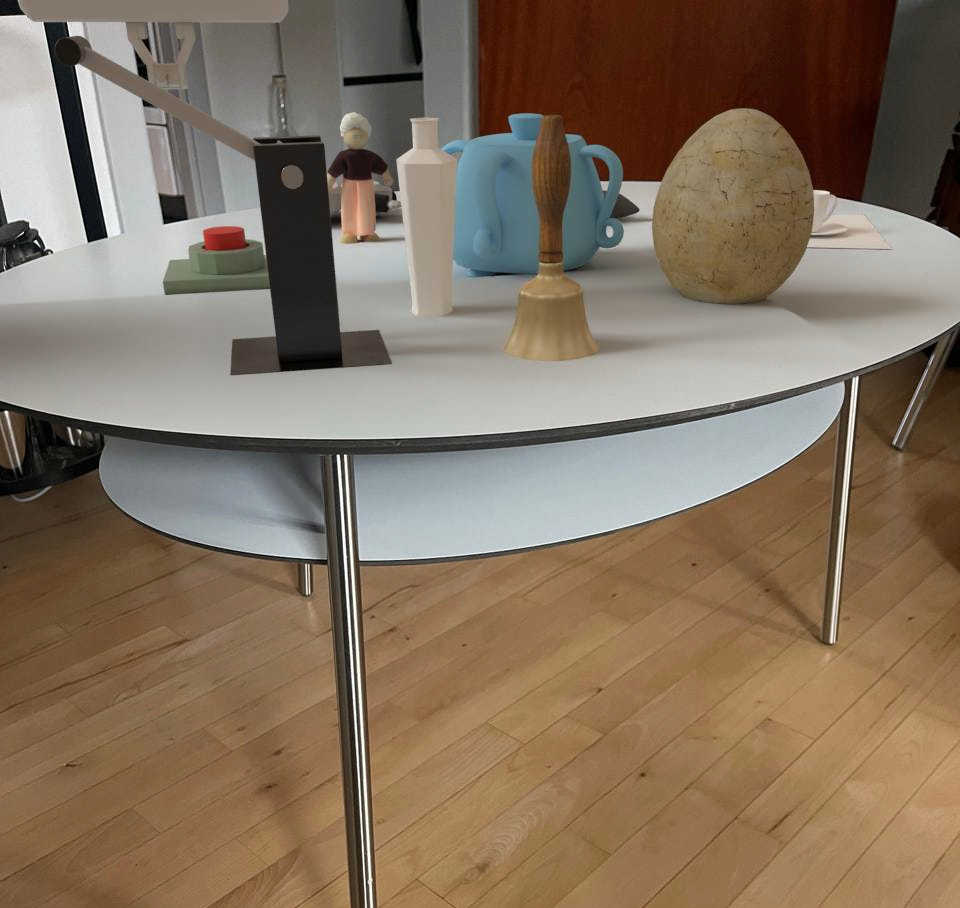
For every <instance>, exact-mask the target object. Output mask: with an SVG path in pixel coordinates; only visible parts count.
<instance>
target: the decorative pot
mask: <svg viewBox="0 0 960 908" xmlns="http://www.w3.org/2000/svg"><path fill="white" fill-rule="evenodd" d="M542 116H544V115H543V114H541V113H530V112H529V113H526V112H525V113H514V114H511V115H509V116H508V123H509V125H510V130H511V132H506V133H505V132H504V133H495V134H488V135H483V136H479V137H475V138H472V139H470V140H465V139H456V140H453V141H451V142H448V143H446V144H445V145H444V146H442V148H440V149H441V150H443V151H445V152H446V153H448V154H450V155H451V156H452V154H454V153H459V152H461V156H460V159H459V162H458V163H457V173H456V199H455V224H454V250H453V262H455V264H456V265H457V266H458V267H461V268H463V269H468V270H469V269H470V270H469V271H468V273H467V276H469V277H472V278H485V277H494V276H495V275H496V273H505V274H520V275H523V274H524V275H538V272H539V262H540V260H539V259H538V254H539V252H540V250H539V234H540V220H539V213H538V209H537V205H536V202H535V198H534V193H533V185H532V158H533V152H534V147H535V144H536V140H537V137H538V134H539V130H540V126H541V120H542ZM565 135H566V138H567V142H568V146H569V150H570V156H571V182H570V189H569V195H568V199H567V203H566V206H565V210H564V214H563V220H562V239H563V249H562V252H563V270H564V272H566V271H569V270H573V269H578V268H581V266H584V265H586V264H588V263H589V262H590V261H591V260H592V259H593V258H594V256H595V255H596V254H597V252H598V251H599V249H600V248H602V249H612V248H616V247H617V246H619V245H620V244H621V242H622V240H623V238H624V233H625V229H624V226H623V224H622V222H621V221H620V220H619V219H616V218H610V216H611V213H612V211H613V208H614V206H615V203H616V200H617V198H618V195H619V194H620V192H621V188H622V185H623V181H624V180H623V179H624V168H623V165H622V162H621V160H620V158H619V157H618V155H617V154H616V153H615V152H614V151H612V150H611V149H610V148H608V147H606V146H604V145H602V144H601V145H600V144H589V145H588V144H587V142H586V140H585V139H584V138H583V136H581V135H578V134H568V133H565ZM593 158H597V159H600V160H601V161H603V162H605V164H606V165H607V167H608V170H609V172H608V173H609V177H608V186H607V189H606V191H607V192H606V195H605V198H604V195H603V191H602V190H603V187H602V183H601V180H600V177H599V174H598V171H597V168H596V165H595V162H594V159H593ZM608 227H611V229H612V236H610V237H609V236H608V233H607V228H608Z"/></svg>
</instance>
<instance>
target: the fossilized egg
mask: <svg viewBox="0 0 960 908" xmlns="http://www.w3.org/2000/svg"><path fill="white" fill-rule="evenodd" d="M813 190H814V188H813V184H812V178H811V174H810V170H809V168H808V166H807V164H806V161H805V158H804V156H803V154H802V152H801V151H800V148H799V147H798V146H797V144H796V142H795V140H794V139H793V137H792V136H791V135H790V134H789V132H788V131H787V130H786V129H785V127H784V126H783V125H782V124H780V123H779V122H778V121H777V120H776V119H775V118H774V117H772V116H771V115H769V114H767V113H765V112H762V111H760V110H758V109H754V108H748V107H747V108H746V107H745V108H733V109H729V110H726V111H724V112H721V113H720V114H717V115H715V116H714V117H712V118H711V119H709V120H708V121H706V122H705V123H704V124H702V125H701V126H700V127H699V128H698V129H697V130H696V131H695V132H694V133H693V134H692V135H691V136H690V137H689V138H688V139H687V140H686V141H685V143H684V144H683V145H682V147H681V148H680V149H679V150H678V152H676V154H675V155H674V158H673V160H672V161H671V162H670V164H669V166H668V167H667V168H666V171H665V173H664V175H663V178H662V180H661V182H660V184H659V187H658V190H657V193H656V197H655V200H654V204H653V210H652V218H651V219H652V220H651V232H652V241H653V249H654V251H655V255H656V258H657V261H658V264H659V267H660V269H661V270H662V272H663V274H664V275H665V277H666V279H667V280H668V282H669V284H670V285H671V286H673V288H674V289H675V290H676V291H678V293H680V294H681V295H682V296H683V297H685V298H687V299H690V300H693V301H698V302H703V303H708V304H719V305H720V304H722V305H739V304H750V303H757V302H760V301H762V300H765V299H766V298H768V297H769V296H771V295H772V294H773V293H775V292H776V291H777V290H778V289H779V288H781V287H782V286H783V284H784V283H785V282H786V281H788V280H789V278H790V277H791V276H792V275H793V273H794V272H795V270H797V267H798V266H799V264H800V263H801V261H802V259H803V257H804V255H805V253H806V250H807V248H808V247H807V245H808V242H809V239H810V236H811V233H812V226H813V219H814V194H813Z"/></svg>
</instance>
